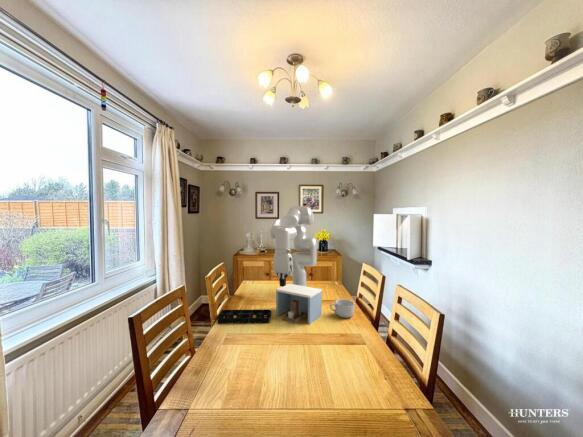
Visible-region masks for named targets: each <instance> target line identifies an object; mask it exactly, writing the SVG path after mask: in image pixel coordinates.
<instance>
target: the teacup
mask: <svg viewBox="0 0 583 437" xmlns="http://www.w3.org/2000/svg"><path fill="white" fill-rule="evenodd" d="M332 306H334V308H332ZM329 308H330V310H331V311H333V312H334V314H336V315H338V316H339V317H340V318H343V319H348V318H350V317H352V316H353V315H354V312H355V302H354V301H352V300H350V299H345V298H340V299H336V300H335V302H331V303H330V304H329Z"/></svg>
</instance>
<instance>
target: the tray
mask: <svg viewBox="0 0 583 437" xmlns="http://www.w3.org/2000/svg"><path fill="white" fill-rule="evenodd" d="M287 311H288V312H287V313H286V314H284V315H282V316H281V318H282V319H281V320H282V321H285V322H288V323H292V324H294V325H296V324H298V323H299V322H301V321H303V320H304V319H306V318H308V313H305V312H301V307H299V301H298V300H293V301H291V309H290V310H287Z"/></svg>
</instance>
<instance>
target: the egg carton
mask: <svg viewBox="0 0 583 437" xmlns="http://www.w3.org/2000/svg"><path fill="white" fill-rule="evenodd" d="M235 316H236V317H235ZM254 316H255V317H254ZM271 317H272V310H271V309H221V310H220V312H219V313H218V314H217V317H216V320H217V324H218V325H219V324H221V325H222V324H223V325H224V324H227V323H228V324H231V325H232V324H233V325H234V324H242V325H243V324H244V325H245V324H248V323H250V324H252V325H253V324H255V325H256V324H259V323H260V324H270V319H271Z"/></svg>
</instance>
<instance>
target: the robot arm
mask: <svg viewBox="0 0 583 437" xmlns="http://www.w3.org/2000/svg"><path fill="white" fill-rule="evenodd" d="M314 222H315V215H314V212H313V210H312V208H311V207H310V206H307V205H294V206H291V207H289V209H288V210H287V213H286V215H285V216H283V217H280V218H278V219H276V220H275V221H274V222H273V223H272V226H271V227H270V231H269V234H270V237H271V238H272V239H274V242H275V243H274V244H275V245H274V246H275V247H274V250H275V251H274V252H275V253H274V254H273V259H272V260H273V261H272V269H273V274H275V275H276V276H277V277H278V279H279V282H278V283H279V287H283V286H285V285H287V278H288V277H291V276H292V284H294V285H300V286H306V287H307V271H306V269H305V268H304V267H315V266H316V265H317V262H318V244H317V239H316V237H314V236H307V229H306V227H305V226H307V225H308V226H311V225H313V224H314ZM290 240H292V241H293V248H294V249H295V251H296V252H293V253H292V249H291V247H290V246H291V245H290V244H291V243H290V242H291V241H290Z"/></svg>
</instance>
